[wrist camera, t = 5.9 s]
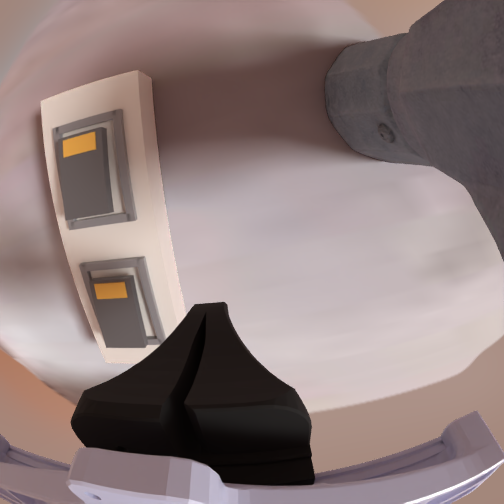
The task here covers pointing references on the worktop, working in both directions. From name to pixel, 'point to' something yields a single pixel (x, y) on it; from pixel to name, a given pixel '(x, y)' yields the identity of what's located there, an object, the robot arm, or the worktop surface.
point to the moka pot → (431, 99)
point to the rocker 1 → (85, 174)
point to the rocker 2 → (118, 311)
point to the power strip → (119, 205)
